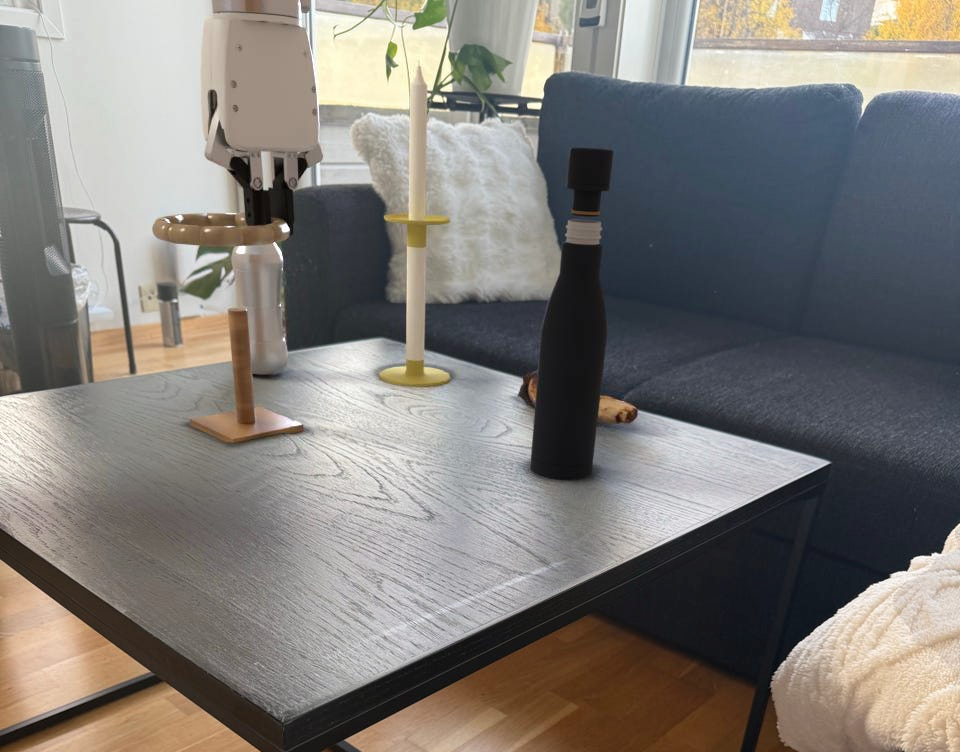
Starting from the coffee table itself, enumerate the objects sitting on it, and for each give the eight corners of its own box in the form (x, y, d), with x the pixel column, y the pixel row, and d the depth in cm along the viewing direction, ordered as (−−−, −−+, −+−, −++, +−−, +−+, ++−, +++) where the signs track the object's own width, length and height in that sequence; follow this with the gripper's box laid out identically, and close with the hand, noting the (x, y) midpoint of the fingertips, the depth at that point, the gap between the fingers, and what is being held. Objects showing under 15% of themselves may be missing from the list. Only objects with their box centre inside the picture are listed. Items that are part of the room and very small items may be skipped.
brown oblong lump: (487, 412, 116) (601, 443, 105) (488, 374, 114) (604, 403, 103) (535, 397, 122) (648, 426, 111) (537, 361, 120) (652, 387, 109)
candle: (462, 375, 130) (474, 64, 112) (429, 390, 122) (436, 58, 104) (401, 365, 134) (403, 62, 115) (365, 379, 126) (360, 56, 107)
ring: (195, 250, 78) (193, 230, 77) (131, 234, 86) (128, 215, 85) (315, 242, 86) (314, 223, 85) (245, 227, 93) (244, 210, 92)
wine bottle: (520, 477, 94) (544, 146, 79) (543, 460, 99) (570, 146, 85) (579, 489, 92) (615, 151, 77) (599, 470, 97) (637, 150, 82)
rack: (233, 449, 98) (222, 320, 91) (190, 429, 103) (176, 306, 96) (304, 434, 103) (298, 312, 97) (259, 416, 109) (250, 298, 102)
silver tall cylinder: (241, 367, 128) (229, 210, 118) (291, 368, 129) (282, 212, 119) (236, 379, 123) (222, 215, 113) (287, 380, 123) (278, 217, 113)
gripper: (307, 15, 87) (316, 227, 96) (150, -5, 77) (176, 233, 86) (355, 12, 82) (359, 235, 91) (195, -9, 73) (217, 243, 82)
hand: (270, 233), depth 89 cm, fingers closed on ring, 1 cm apart
